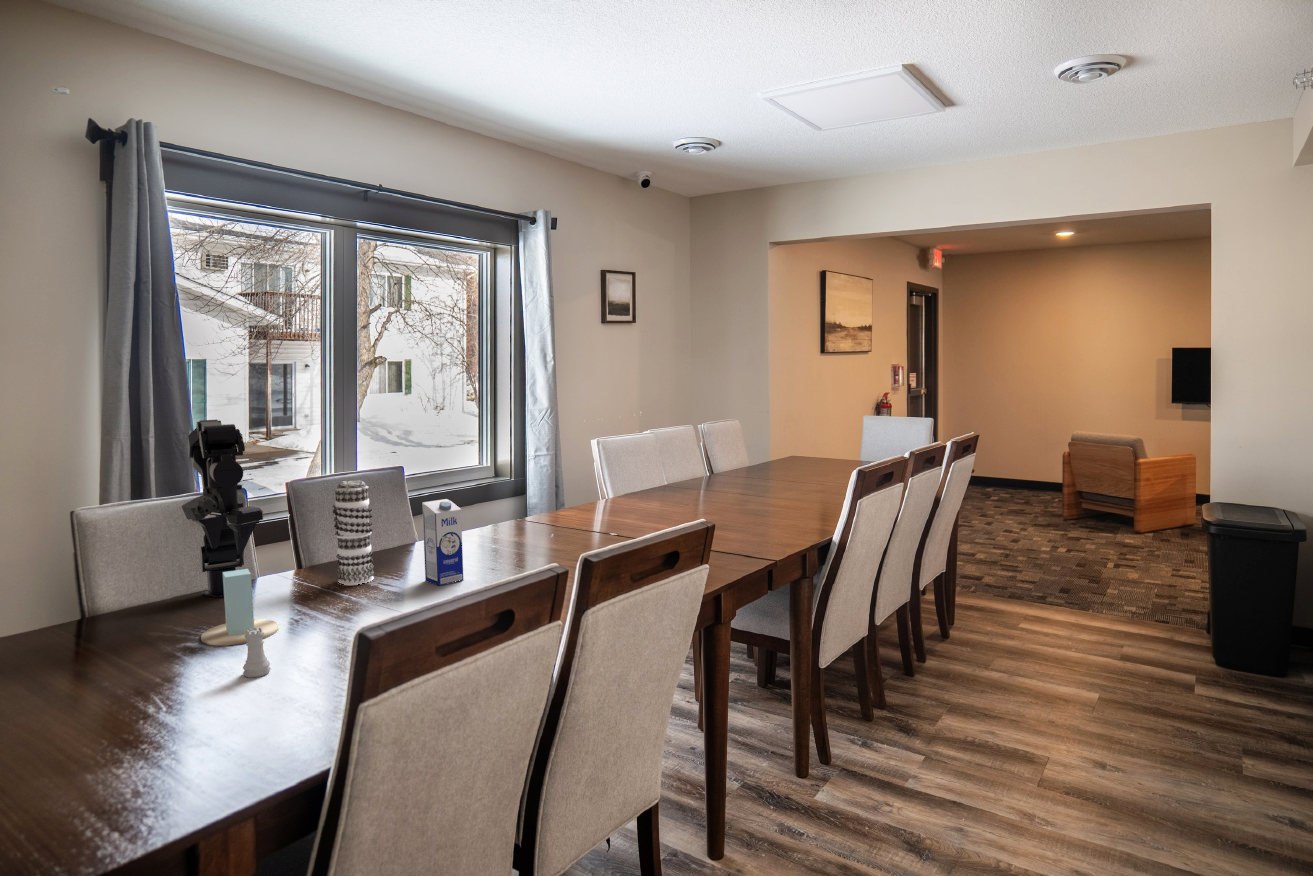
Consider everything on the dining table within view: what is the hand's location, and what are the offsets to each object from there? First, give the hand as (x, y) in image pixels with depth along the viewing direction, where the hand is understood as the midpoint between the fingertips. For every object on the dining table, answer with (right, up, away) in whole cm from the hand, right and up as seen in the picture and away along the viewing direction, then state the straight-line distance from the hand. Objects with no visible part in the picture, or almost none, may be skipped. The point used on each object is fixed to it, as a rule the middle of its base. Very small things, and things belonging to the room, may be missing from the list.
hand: (227, 550), depth 181 cm
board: (+11, -15, -16) cm, 24 cm away
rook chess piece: (+25, -17, -37) cm, 47 cm away
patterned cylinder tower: (+20, -11, +22) cm, 32 cm away
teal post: (+11, -14, -16) cm, 24 cm away
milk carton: (+43, -11, +21) cm, 49 cm away
